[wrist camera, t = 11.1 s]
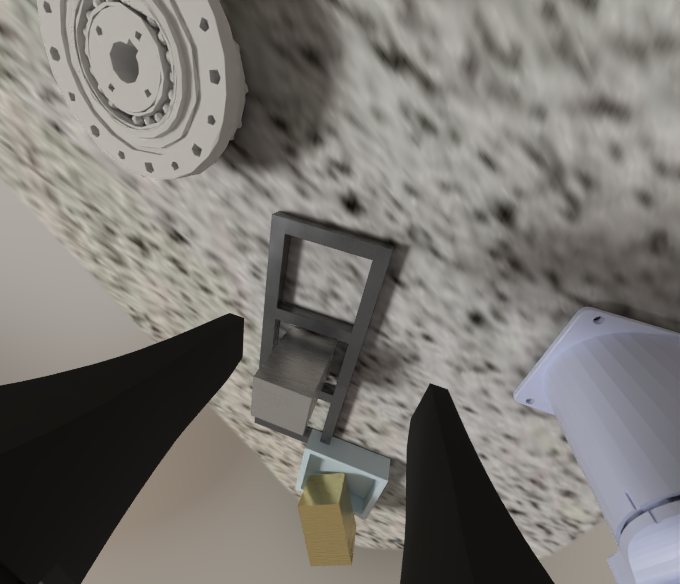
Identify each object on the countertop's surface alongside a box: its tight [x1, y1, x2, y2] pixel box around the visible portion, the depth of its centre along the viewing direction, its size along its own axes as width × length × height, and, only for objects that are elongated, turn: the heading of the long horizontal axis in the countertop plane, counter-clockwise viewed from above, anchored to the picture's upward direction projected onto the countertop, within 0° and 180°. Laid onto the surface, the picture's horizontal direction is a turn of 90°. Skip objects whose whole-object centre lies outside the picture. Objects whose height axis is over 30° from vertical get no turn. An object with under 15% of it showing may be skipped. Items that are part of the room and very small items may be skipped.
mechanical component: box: [37, 0, 249, 180], centre depth 15 cm, size 10×4×10 cm
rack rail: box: [255, 211, 395, 445], centre depth 23 cm, size 8×22×1 cm, turn 168°
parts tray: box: [295, 429, 391, 519], centre depth 29 cm, size 8×8×2 cm
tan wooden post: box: [298, 473, 356, 566], centre depth 28 cm, size 4×4×6 cm
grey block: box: [251, 325, 337, 436], centre depth 21 cm, size 4×4×6 cm
